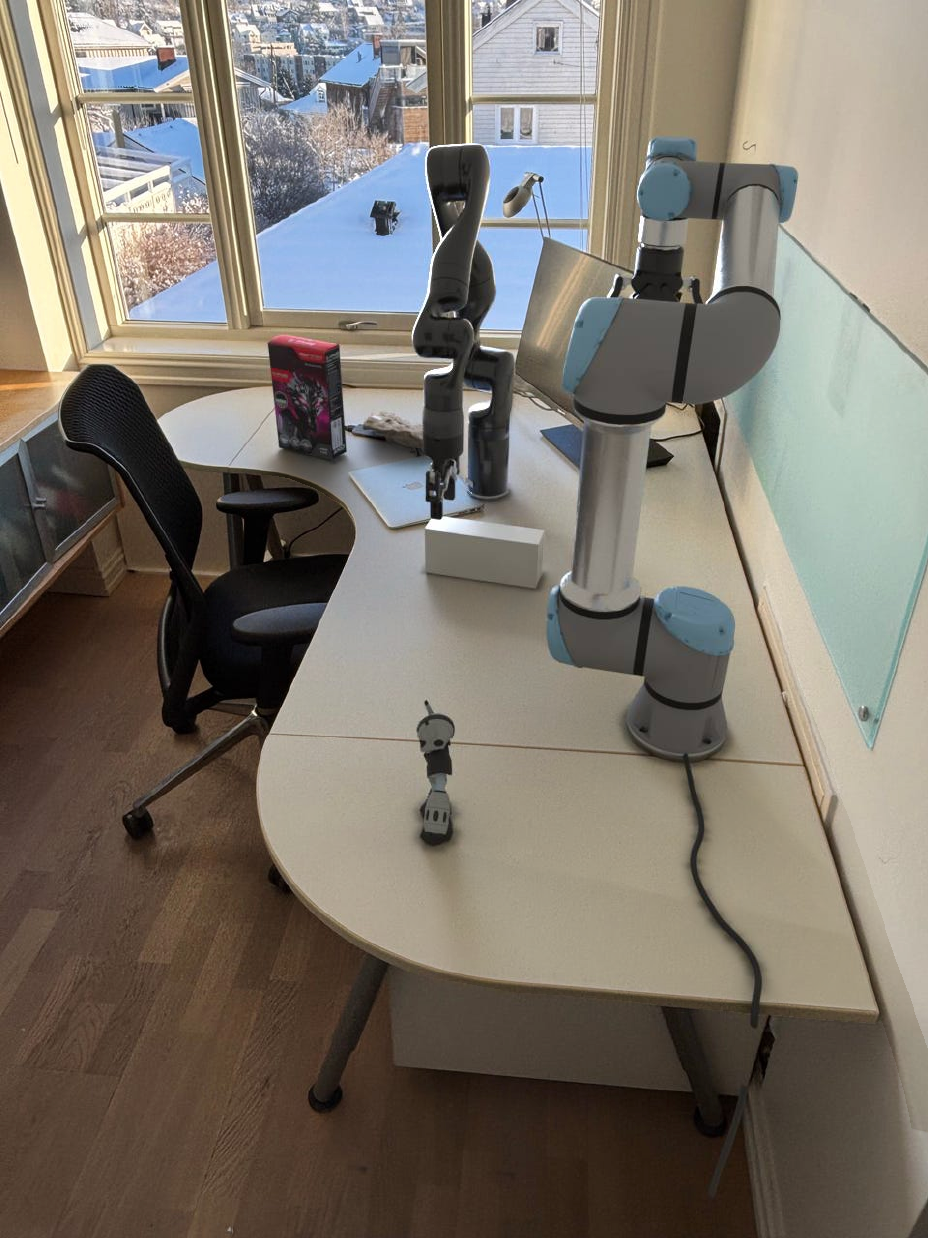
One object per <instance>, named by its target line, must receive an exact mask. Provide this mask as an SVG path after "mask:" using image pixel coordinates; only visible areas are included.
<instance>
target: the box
mask: <svg viewBox="0 0 928 1238" xmlns="http://www.w3.org/2000/svg"><path fill="white" fill-rule="evenodd" d="M545 532H546V531H545V529H538V528H532V527H523V526H516V525H508V524H501V523H494V522H486V521H479V520H472V519H464V518H457V517H450V516H443V517H442V519H441V520H436V519H432V518H430V520H429V521H428V523H427V525H426V526H425V527H424V556H425V557H424V560H425V562H424V563H425V564H424V565H425V567H424V568H425V573H426V574H427V573H428V574H435V575H442V576H446V577H447V576H448V577H455V578H462V579H467V580H474V581H482V582H489V583H495V584H501V585H508V586H515V587H521V588H529V589H535V590H536V589H537V587H538V584H539V582H540V580H541V577H542V575H543V565H544V564H543V563H544V547H545Z"/></svg>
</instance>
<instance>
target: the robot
mask: <svg viewBox="0 0 928 1238" xmlns="http://www.w3.org/2000/svg"><path fill="white" fill-rule="evenodd" d="M423 704H424V706H425V708H426V711H427V714H428V715H426V716H424V717H423V718H422V719H421V720H419V721H418V724H417V726H416V728H415V730H416V733H417V736H416V737H417V738H418V741H419V751H420V752H421V753H423V757H424V760H425V762H426V778H427V779H428V782H429V784H430V787H431V788H430V789H429V792H428V794H427V798H426V799H425V801H424V802H423V803H422V804H421V805H420V807H419V813H420V815H421V818H423V827H422V828H421V829H422V830H421V831H420V834H419V838H420V839H421V840H422V841H423V842H424V843H425V845H429V846H440V845H442V844H444V843H447V842H449V841H451V839H452V836H453V833H454V831H453V830H454V829H453V822H452V819H451V815H452V814H453V811H452V802H451V799H450V795H449V793H447V791H446V785H447V784H448V778H447V775H448V776H453V760H452V757H451V755H450V746H452V743H451V739H454V738H453V737H454V736H455V731H456V727H455V723H454V721H453V719H452V718H450V717H449V716H447V715H445V714H444V713H441V712H435V711H434V710H433V708H432V707H431V705H430V702H429V701H428V700H427V699H425V700H424V703H423Z"/></svg>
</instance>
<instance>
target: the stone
mask: <svg viewBox="0 0 928 1238" xmlns="http://www.w3.org/2000/svg"><path fill="white" fill-rule="evenodd" d="M362 430H363V431H374V432H375V434H376V435H378V436H380V437H381V436H382V437H384V439H385V441H388V442H390V443H391V442H392V443H393V442H394V441H395V442H396V443H398V444H401V445H405V447H406V446H407V447H409V448H414V449H421V450H423V425H422V424H420V423H414V422H410V421H408V420H407V419H403V418H401V417H400V416H398V415H396V413H394V412H393V413H392V412H388V411H378V412H372V413H370V414H369V415H368V416H367V417H366V419H365V420H364V422H363V423H362Z"/></svg>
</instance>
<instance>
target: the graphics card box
mask: <svg viewBox="0 0 928 1238" xmlns="http://www.w3.org/2000/svg"><path fill="white" fill-rule="evenodd" d="M340 347H341V346H340V343H335V342H333V343H332V342H328V341H322V340H317V339H311V338H306V337H300V336H295V335H289V334H285V333H282V334H279V335H277V336H274V337H273V338H271V339H270V340H268V341H267V351H268V359H269V367H270V369H269V370H270V377H271V378H270V379H271V385H272V386H271V387H272V395H273V403H274V412H275V413H274V414H275V423H276V433H277V441H278V442H277V443H278V448H279V449H283V450H287V451H288V450H289V451H292V452H297V453H301V454H305V455H309V456H314V457H317V458H322V459H326V460H330V461H333V460H335V459H337V458H339V457H340V456H342V455H344V454H345V453H347V451H348V449H347V447H348V446H347V434H346V420H345V407H344V406H345V405H344V393H343V380H342V364H341V363H342V362H341V349H340Z"/></svg>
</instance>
